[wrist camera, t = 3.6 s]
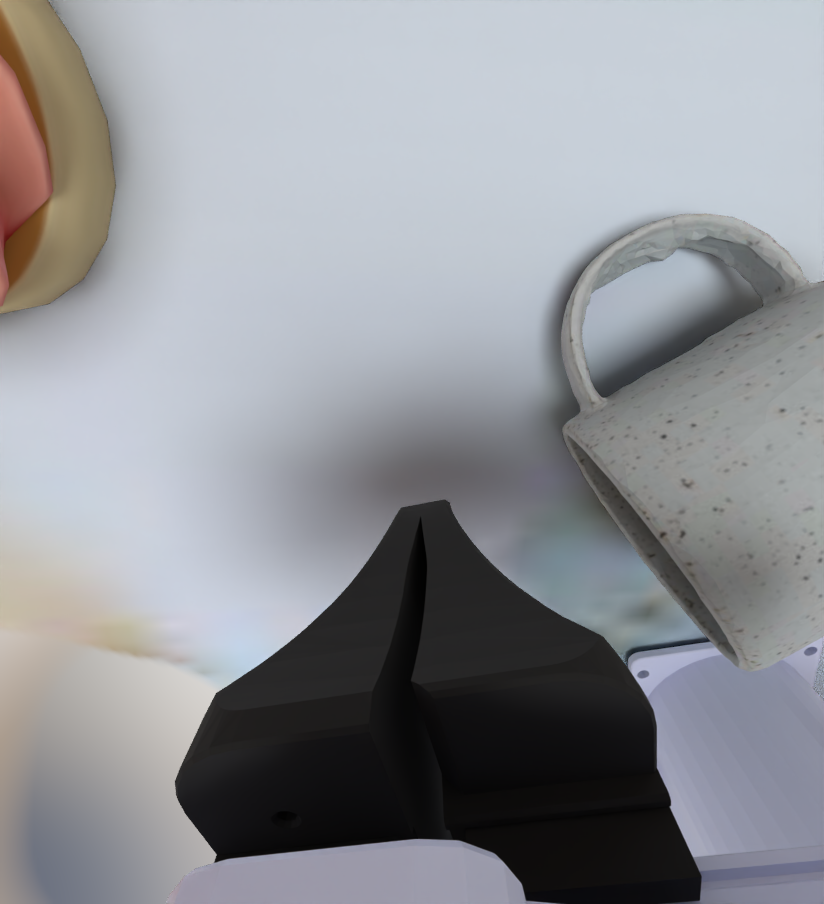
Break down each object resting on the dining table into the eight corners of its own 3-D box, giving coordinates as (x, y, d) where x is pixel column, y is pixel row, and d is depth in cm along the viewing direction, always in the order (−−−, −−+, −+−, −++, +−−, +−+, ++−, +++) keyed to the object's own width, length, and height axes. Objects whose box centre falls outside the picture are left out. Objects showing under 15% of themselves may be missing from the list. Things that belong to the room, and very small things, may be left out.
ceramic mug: (846, 431, 15) (1222, 575, 8) (631, 547, 17) (778, 743, 10) (728, 146, 12) (1176, -34, 5) (482, 331, 14) (544, 395, 7)
